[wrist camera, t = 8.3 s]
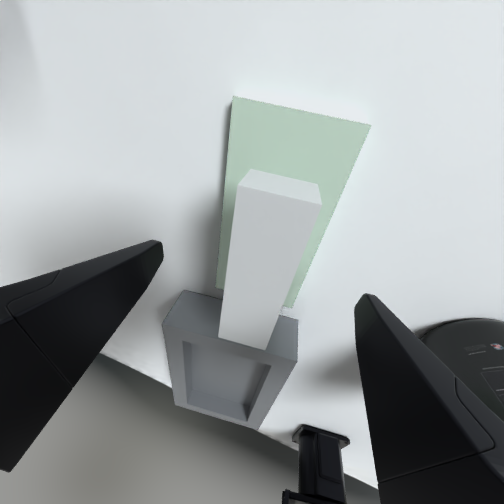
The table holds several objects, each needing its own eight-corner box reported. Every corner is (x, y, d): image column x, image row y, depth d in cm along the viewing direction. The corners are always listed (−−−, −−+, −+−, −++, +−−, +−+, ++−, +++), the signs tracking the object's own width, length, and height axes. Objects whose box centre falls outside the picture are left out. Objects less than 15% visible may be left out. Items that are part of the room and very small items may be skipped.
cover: (292, 298, 17) (288, 377, 12) (219, 279, 17) (186, 348, 12) (365, 123, 10) (431, 140, 5) (238, 97, 10) (177, 86, 5)
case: (262, 396, 27) (257, 430, 24) (188, 374, 27) (175, 404, 25) (298, 320, 17) (297, 361, 15) (183, 289, 18) (161, 323, 15)
